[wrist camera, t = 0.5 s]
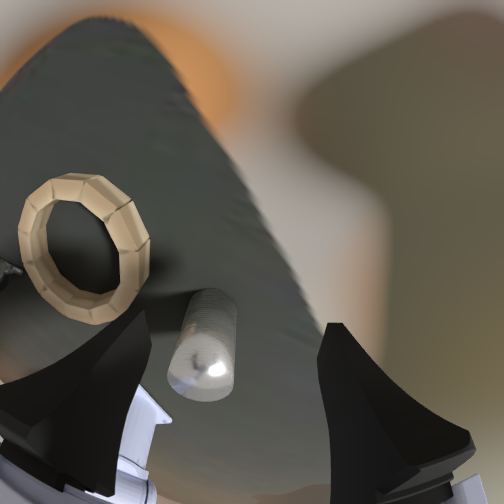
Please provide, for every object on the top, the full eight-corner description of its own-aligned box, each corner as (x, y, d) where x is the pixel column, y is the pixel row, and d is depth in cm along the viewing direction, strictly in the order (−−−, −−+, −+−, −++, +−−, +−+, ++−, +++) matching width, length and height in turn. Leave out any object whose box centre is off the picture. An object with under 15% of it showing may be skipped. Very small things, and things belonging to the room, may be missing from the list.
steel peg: (201, 333, 24) (187, 405, 16) (180, 296, 22) (155, 366, 15) (244, 320, 23) (243, 395, 16) (225, 281, 22) (216, 353, 14)
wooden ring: (76, 318, 23) (65, 333, 21) (19, 211, 19) (2, 219, 17) (175, 286, 22) (167, 303, 20) (110, 146, 17) (93, 148, 15)
